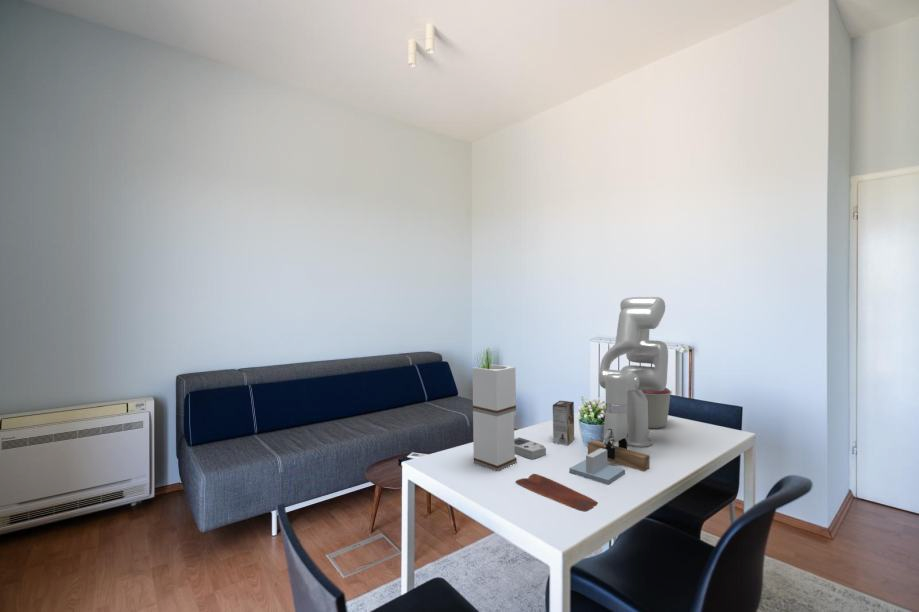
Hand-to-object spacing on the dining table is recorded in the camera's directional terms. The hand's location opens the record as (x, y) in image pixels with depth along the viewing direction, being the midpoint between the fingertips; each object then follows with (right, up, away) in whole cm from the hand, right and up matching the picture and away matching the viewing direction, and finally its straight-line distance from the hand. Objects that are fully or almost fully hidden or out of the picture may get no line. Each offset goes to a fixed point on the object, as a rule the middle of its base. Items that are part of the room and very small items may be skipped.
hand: (616, 455), depth 156 cm
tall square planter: (-44, -3, 0) cm, 44 cm away
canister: (+32, -2, +44) cm, 54 cm away
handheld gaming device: (-31, -3, +11) cm, 34 cm away
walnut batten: (0, -3, 0) cm, 3 cm away
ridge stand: (-10, -3, -10) cm, 15 cm away
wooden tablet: (-28, -4, -24) cm, 37 cm away
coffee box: (-14, -3, +23) cm, 27 cm away
